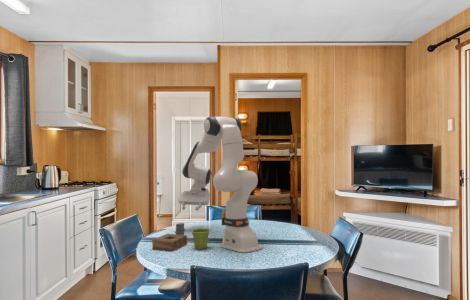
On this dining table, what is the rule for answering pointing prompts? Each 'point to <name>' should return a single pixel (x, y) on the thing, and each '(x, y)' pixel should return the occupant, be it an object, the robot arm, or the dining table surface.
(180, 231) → the servo
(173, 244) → the brown wooden box
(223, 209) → the ammunition clip
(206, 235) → the plant pot
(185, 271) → the dining table surface
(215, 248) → the dining table surface
